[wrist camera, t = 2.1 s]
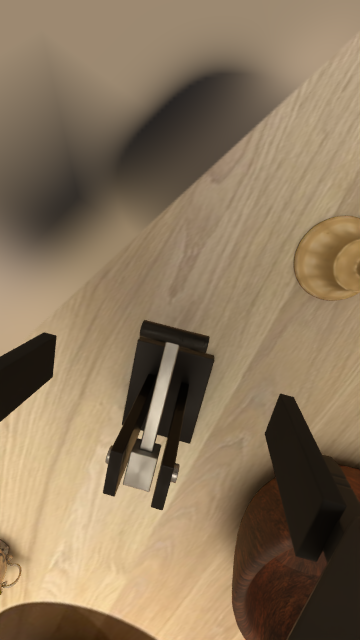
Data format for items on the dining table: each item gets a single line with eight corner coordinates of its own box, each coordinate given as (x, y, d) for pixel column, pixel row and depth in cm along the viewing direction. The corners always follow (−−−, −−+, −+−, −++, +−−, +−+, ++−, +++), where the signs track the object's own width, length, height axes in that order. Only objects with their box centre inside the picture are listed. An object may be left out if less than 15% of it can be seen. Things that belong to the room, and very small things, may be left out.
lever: (146, 319, 24) (141, 320, 22) (209, 335, 24) (210, 337, 22) (111, 462, 25) (102, 479, 23) (171, 479, 25) (169, 498, 22)
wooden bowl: (259, 596, 43) (271, 701, 33) (202, 468, 38) (198, 549, 28) (441, 575, 38) (520, 694, 28) (407, 423, 32) (490, 504, 23)
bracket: (140, 336, 33) (91, 401, 20) (214, 355, 33) (213, 435, 20) (124, 419, 37) (74, 520, 24) (190, 437, 37) (176, 550, 23)
